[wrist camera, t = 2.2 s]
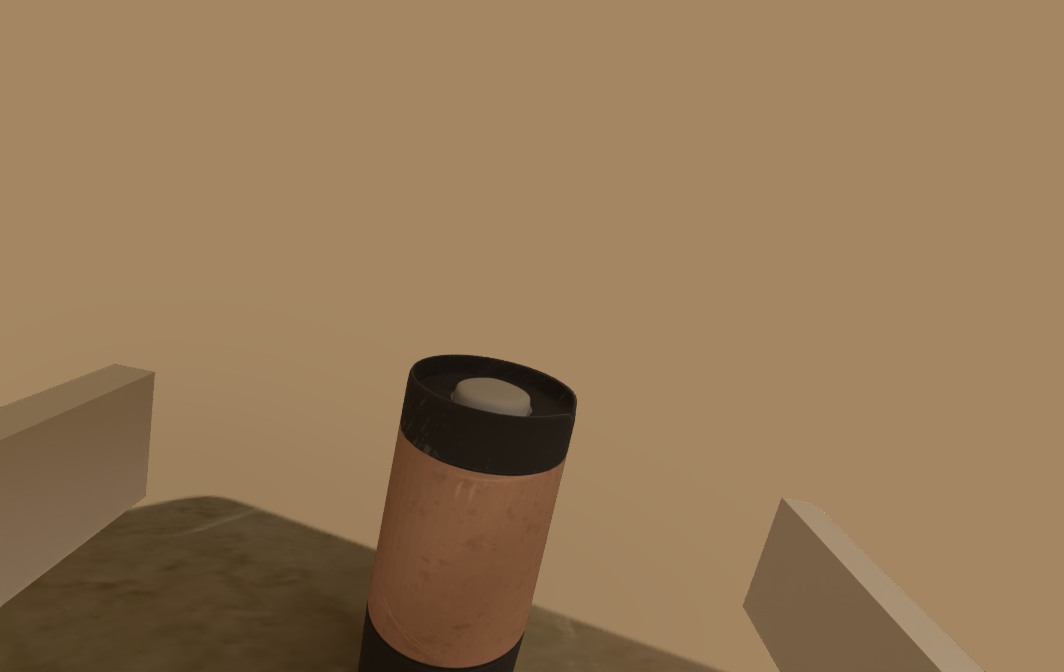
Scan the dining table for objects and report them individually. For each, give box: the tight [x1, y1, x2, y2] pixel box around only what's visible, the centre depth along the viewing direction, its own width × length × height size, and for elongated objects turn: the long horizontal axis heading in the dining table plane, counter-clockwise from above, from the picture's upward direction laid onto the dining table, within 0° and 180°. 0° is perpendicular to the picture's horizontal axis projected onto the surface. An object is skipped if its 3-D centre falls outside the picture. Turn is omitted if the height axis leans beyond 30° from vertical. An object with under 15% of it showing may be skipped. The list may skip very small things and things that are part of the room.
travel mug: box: [358, 355, 577, 672], centre depth 26 cm, size 8×8×20 cm
